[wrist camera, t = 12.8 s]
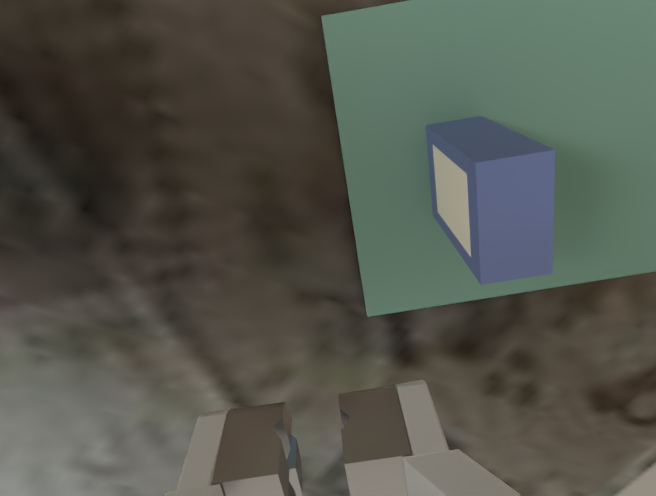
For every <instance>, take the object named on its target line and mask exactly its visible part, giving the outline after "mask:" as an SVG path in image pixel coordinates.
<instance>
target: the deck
mask: <svg viewBox="0 0 656 496" xmlns="http://www.w3.org/2000/svg"><path fill="white" fill-rule="evenodd" d="M426 136H427V149H428V161H429V173H430V185H431V197H432V210H433V216H434V218H435V219H436V221H437V222H438V224H439V225H440V227H441V228H442V230H443V231H444V232H445V234H446V235H447V237H448V238H449V240H450V241H451V243H452V244H453V245H454V247H455V248H456V250H457V251H458V253H459V254H460V256H461V257H462V258H463V260H464V261H465V263H466V264H467V266H468V267H469V269H470V270H471V271H472V273H473V274H474V276H475V277H476V279H477V280H478V282H479V283H480V284H481V285H484V284H490V283H496V282H503V281H509V280H515V279H522V278H528V277H534V276H541V275H547V274H553V229H554V183H555V149H552V148H550V147H548V146H546V145H544V144H541V143H539V142H537V141H535V140H533V139H530V138H528V137H526V136H524V135H522V134H519V133H517V132H515V131H513V130H511V129H508V128H506V127H504V126H502V125H500V124H497V123H495V122H493V121H491V120H489V119H486V118H484V117H482V116H478V117H472V118H466V119H460V120H454V121H448V122H442V123H436V124H431V125H426Z"/></svg>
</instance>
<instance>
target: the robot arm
mask: <svg viewBox="0 0 656 496" xmlns="http://www.w3.org/2000/svg"><path fill="white" fill-rule="evenodd" d="M339 405H340V413H341V418H342V424H343V428H342V442H343V453H344V464H345V469H346V475H347V480H348V485H349V491H350V496H522V495H520V494H519V493H518V492H516V491H515V490H513V489H512V488H511V487H509V486H508V485H507V484H505V483H504V482H503V481H501V480H500V479H498V478H497V477H496V476H494V475H493V474H492V473H490V472H489V471H488V470H486V469H485V468H484V467H482V466H481V465H479V464H478V463H477V462H475V461H474V460H473V459H471V458H470V457H469V456H467V455H466V454H464V453H463V452H462V451H460V450H459V449H456V450H449V448H448V445H447V442H446V439H445V436H444V433H443V430H442V428H441V425H440V422H439V419H438V416H437V413H436V410H435V407H434V404H433V401H432V398H431V395H430V392H429V389H428V386H427V384H426V382H425V381H424V380H417V381H412V382H406V383H400V384H395V386H394V385H393V386H387V387H380V388H374V389H368V390H361V391H355V392H349V393H342V394H339ZM291 423H292V419H291V416H290V412H289V408H288V405H287V404H286V403H285V402H282V403H274V404H266V405H258V406H251V407H243V408H235V409H230V410H223V411H215V412H208V413H202V414H201V415H200V416H199V418H198V419H197V421H196V425H195V428H194V431H193V435H192V438H191V441H190V445H189V448H188V451H187V455H186V458H185V461H184V465H183V468H182V471H181V474H180V478H179V481H178V484H177V488H176V491H171V492H166V493H165V494H164V495H163V496H302V469H301V460H300V454H299V448H298V444H297V440H296V438H294V437H293V436H292V435H291Z"/></svg>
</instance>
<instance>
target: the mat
mask: <svg viewBox="0 0 656 496" xmlns="http://www.w3.org/2000/svg"><path fill="white" fill-rule="evenodd" d="M321 19H322V26H323V32H324V39H325V45H326V52H327V58H328V65H329V71H330V78H331V84H332V91H333V98H334V104H335V111H336V117H337V124H338V130H339V137H340V143H341V150H342V156H343V163H344V169H345V176H346V183H347V189H348V196H349V202H350V209H351V215H352V222H353V228H354V235H355V241H356V248H357V255H358V261H359V268H360V274H361V281H362V287H363V294H364V300H365V307H366V313H367V317H370V316H376V315H383V314H389V313H395V312H402V311H408V310H414V309H421V308H427V307H433V306H440V305H446V304H452V303H459V302H465V301H471V300H478V299H484V298H490V297H497V296H503V295H509V294H516V293H522V292H528V291H535V290H541V289H547V288H554V287H560V286H566V285H573V284H579V283H585V282H592V281H598V280H604V279H610V278H617V277H623V276H629V275H636V274H642V273H648V272H655V271H656V0H408V1H403V2H397V3H392V4H386V5H381V6H375V7H369V8H364V9H358V10H353V11H347V12H342V13H336V14H330V15H325V16H321ZM478 116H482V117H484V118H486V119H489V120H491V121H493V122H495V123H497V124H500V125H502V126H504V127H506V128H508V129H511V130H513V131H515V132H517V133H519V134H522V135H524V136H526V137H528V138H530V139H533V140H535V141H537V142H539V143H541V144H544V145H546V146H548V147H550V148H552V149H555V183H554V229H553V274H547V275H541V276H534V277H528V278H522V279H515V280H509V281H503V282H496V283H490V284H484V285H481V284H480V283H479V282H478V280H477V279H476V277H475V276H474V274H473V273H472V271H471V270H470V269H469V267H468V266H467V264H466V263H465V261H464V260H463V258H462V257H461V256H460V254H459V253H458V251H457V250H456V248H455V247H454V245H453V244H452V243H451V241H450V240H449V238H448V237H447V235H446V234H445V232H444V231H443V230H442V228H441V227H440V225H439V224H438V222H437V221H436V219H435V218H434V216H433V210H432V197H431V185H430V173H429V161H428V149H427V136H426V125H431V124H436V123H442V122H448V121H454V120H460V119H466V118H472V117H478Z"/></svg>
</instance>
